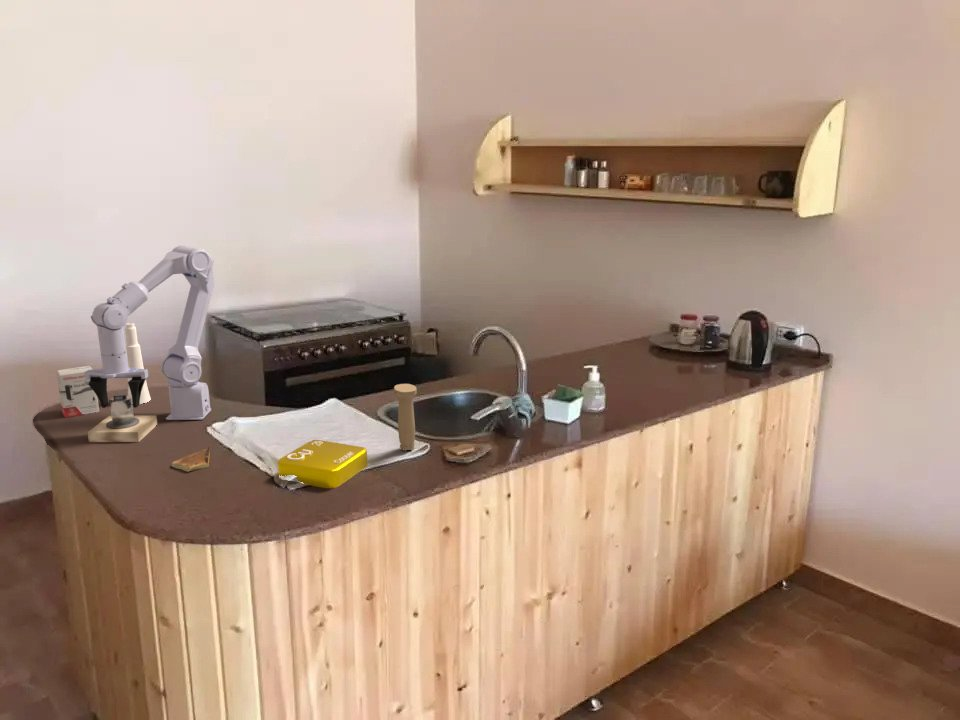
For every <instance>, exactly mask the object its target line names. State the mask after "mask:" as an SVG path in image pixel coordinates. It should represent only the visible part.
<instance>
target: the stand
mask: <svg viewBox="0 0 960 720" xmlns="http://www.w3.org/2000/svg"><path fill="white" fill-rule="evenodd" d="M157 417H158V416H157V415H153V414H152V415H134V422H133V423H131V424H128V425H122V426H117V425H113V424H112V417H111V415H107V417H105V418H104V419H103V420H101V421H100V422H99V423H97V425H95V426H93V428H91V429H90V430H89V431H87V439H88V443H140V442H141V440H143V439H144V438H145V437H146V436H147V435H148V434H149V433H150V432H151V431H152V430H153V429H155V428H156V425H157V426H158V418H157Z"/></svg>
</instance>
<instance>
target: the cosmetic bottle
mask: <svg viewBox="0 0 960 720" xmlns="http://www.w3.org/2000/svg"><path fill="white" fill-rule="evenodd" d="M137 332H138V331H137V327H136V326H135V322H126V324H125V328H124V334H125V342H126V351H127V359H128V366H129V368H138V369H145V367H144V362H143V357H142V356H143V355H142V350H141V345H140V343H139V342H138V340H139V339H138V333H137ZM130 380H132V378H127V382H128V381H130ZM150 395H151V394H150V392H149V388H148V384H147V379H146V380H145V382H144V385H143V387H142V391H141V395H140V404H139V405H144V404H143V403H145V404H147V402H148V403H149V401H150V400H151V401H152V399H151V398H152V397H151V396H150ZM127 396H130V397H131V399H132V394H131V390H130V387H129V385H128V384H127ZM151 401H150V402H151ZM132 404H133V403H132Z"/></svg>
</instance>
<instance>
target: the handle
mask: <svg viewBox="0 0 960 720" xmlns="http://www.w3.org/2000/svg"><path fill="white" fill-rule="evenodd" d="M417 393H418V392H417V386H416V385H414V384H411V383H399V384H396V385H394V387H393V394H394V396H395V397H397V398H398V413H397V414H398V417H397V428H398V430H397V431H398V440H399V449H400V448H401V449H404V450H412V451H413V449H414V447H415V438H416V424H415V422H416V421H415V411H414V409H415V408H414V397H415V396H417ZM401 449H400V450H401ZM404 450H403V451H404Z"/></svg>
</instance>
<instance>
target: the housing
mask: <svg viewBox="0 0 960 720" xmlns="http://www.w3.org/2000/svg"><path fill="white" fill-rule="evenodd" d="M112 396H113V397H112V398H110V399H108V403H109V407H110V416H111V417H112V424H113V425H117V426H122V425H128V424H131V423H133V422H134V416H135V415H134V407H133V405H132V399H131V397H130V396H128V393H124V392H123V393H122V392H120V393H115V394H113V395H112Z"/></svg>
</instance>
